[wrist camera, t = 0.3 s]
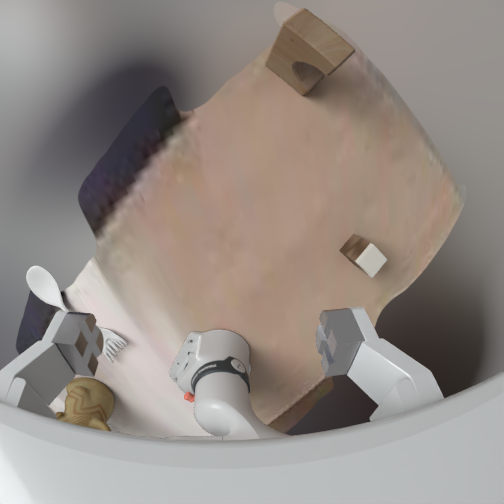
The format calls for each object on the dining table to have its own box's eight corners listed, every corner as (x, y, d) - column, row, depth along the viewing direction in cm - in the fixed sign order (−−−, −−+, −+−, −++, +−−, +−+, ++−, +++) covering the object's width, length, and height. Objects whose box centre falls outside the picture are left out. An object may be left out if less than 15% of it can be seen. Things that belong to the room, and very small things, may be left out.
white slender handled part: (115, 357, 67) (111, 365, 63) (27, 280, 58) (20, 285, 55) (131, 337, 65) (128, 345, 62) (38, 256, 57) (31, 260, 54)
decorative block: (318, 82, 54) (357, 50, 34) (302, 97, 54) (337, 68, 35) (280, 49, 51) (305, 5, 32) (263, 64, 52) (282, 22, 32)
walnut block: (352, 263, 66) (372, 277, 56) (339, 250, 64) (358, 263, 55) (366, 247, 65) (387, 259, 55) (353, 234, 64) (373, 244, 54)
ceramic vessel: (61, 366, 66) (25, 422, 42) (118, 376, 68) (93, 442, 44) (76, 406, 70) (51, 461, 46) (130, 415, 73) (113, 478, 49)
